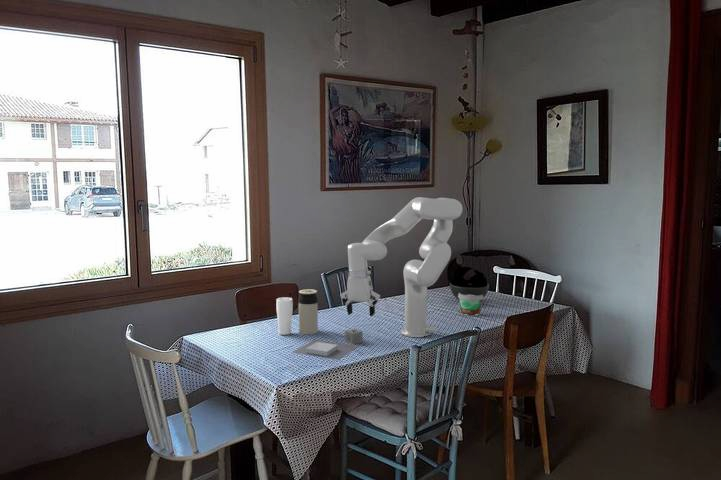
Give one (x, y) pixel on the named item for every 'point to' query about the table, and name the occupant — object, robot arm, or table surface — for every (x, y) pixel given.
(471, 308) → the food container
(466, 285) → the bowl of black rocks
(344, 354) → the mat
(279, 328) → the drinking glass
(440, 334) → the table surface
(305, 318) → the travel mug
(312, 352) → the tile
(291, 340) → the table surface
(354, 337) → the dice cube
